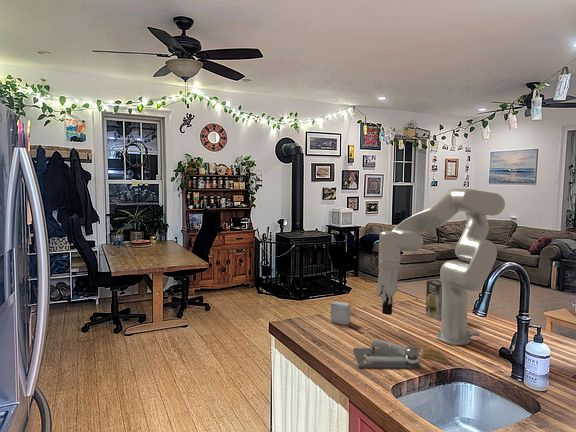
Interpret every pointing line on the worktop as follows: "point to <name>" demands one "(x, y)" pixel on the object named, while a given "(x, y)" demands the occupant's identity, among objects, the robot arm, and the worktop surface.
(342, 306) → the medicine box
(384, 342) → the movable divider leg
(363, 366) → the divider base plate
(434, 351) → the shard
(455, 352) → the worktop surface
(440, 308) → the coffee box
